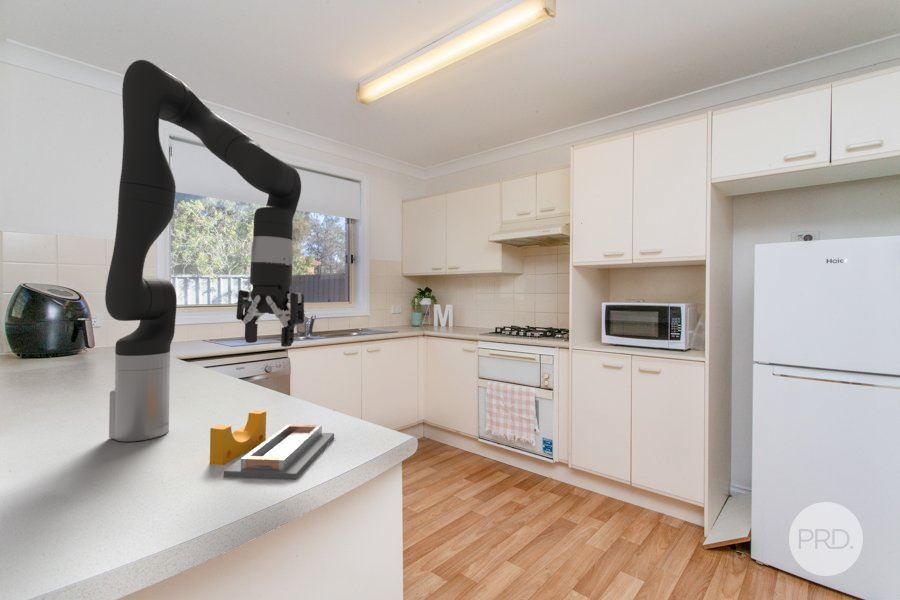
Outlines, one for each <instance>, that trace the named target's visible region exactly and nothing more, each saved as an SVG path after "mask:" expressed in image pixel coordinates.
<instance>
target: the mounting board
mask: <svg viewBox="0 0 900 600" xmlns="http://www.w3.org/2000/svg"><path fill="white" fill-rule="evenodd" d="M273 435H274V434H273ZM273 435H271V436H273ZM288 436H289V435H288ZM288 436H287V437H288ZM269 438H270V437H269ZM269 438H267V439H269ZM334 439H335V432H322V434H321V435H320V436H319V437H318V438H317V439H316V440H315V441H314V442H313V443H312V444H311V445H310V446H309V447H308V448H307V449H306V450H305V451H304V452H303V453H302V454H301V455H300V456H298V457H297V458H296V459H295V460H294V461H293V462H292V463H291V464H290V465H289V466H288V467H287V468H286V469H285V470H284V471H270V470H242V469H241V458H239V459H238V460H237V461H235V462H234V463H232V464H231V465H230V466H228V467H227V468H226V469H223V478H239V479H240V478H241V479H243V478H244V479H265V480H266V479H267V480H269V479H270V480H293V481H294V480H295V481H296V480H297V479H298V478H299V477H300V476H301V474H303V472H305V471H306V469H308V467H309V466H310V465H311V464H312V463H313V461H314V460H315V459H316V458H317V457H318V456H320V454H321V453H322V452H323V451H324V449H326V447H327V446H328V445H329V444H330V443H331V442H332V441H333V440H334ZM283 440H284V439H283ZM283 440H282V441H283ZM261 444H262V443H261ZM278 444H279V443H278ZM278 444H277V445H278ZM257 447H258V446H257ZM273 448H274V447H273ZM273 448H272V449H273ZM251 451H252V450H250V451H249V452H251ZM268 452H269V451H268ZM268 452H267V453H268ZM247 454H248V453H245V455H247ZM264 455H265V454H264ZM264 455H263V456H264Z"/></svg>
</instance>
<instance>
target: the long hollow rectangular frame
mask: <svg viewBox="0 0 900 600" xmlns="http://www.w3.org/2000/svg"><path fill="white" fill-rule="evenodd" d="M322 428H323V425H321V424H319V425H318V424H316V425H315V424H292V423H291V424H286V425H285V426H284V427H283V428H281V429H279V430H278V431H276V432H275V433H273V436H272V435H271V436H270V437H269V439H268V438H266V441H264V442H263V443H262V444H260V445H259V446H258V447H255V448H253V449H252V450H250V451H251V452H250V451H248V453H246V454H247V455H246V454H245V455H244V456H242V457H240V459H241V469H242V470H270V471H284V470H285V469H286V468H287V467H288V466H289V465H290V464H291V463H292V462H293V461H294V460H295V459H296V458H297V457H298V456H300V455H301V454H302V453H303V452H304V451H305V450H306V449H307V448H308V447H309V446H310V445H311V444H312V443H313V442H314V441H315V440H316V439H317V438H318V437H319V436H320V435H321V434H322V433H323V429H322ZM288 435H289V436H288ZM287 436H288V437H287ZM283 439H284V440H283ZM282 440H283V441H282ZM278 443H279V444H278ZM277 444H278V445H277ZM273 447H274V448H273ZM272 448H273V449H272ZM268 451H269V452H268ZM267 452H268V453H267ZM264 454H265V455H264ZM263 455H264V456H263Z"/></svg>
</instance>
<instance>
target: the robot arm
mask: <svg viewBox="0 0 900 600" xmlns="http://www.w3.org/2000/svg"><path fill="white" fill-rule="evenodd" d="M122 80H123V81H122V121H123V122H122V123H123V124H122V125H123V129H122V130H123V137H122V138H123V140H122V142H123V144H122V157H121V159H122V160H121V169H120V170H121V172H120V179H119V186H118V187H119V188H118V199H117V200H118V201H117V203H118V204H117V205H118V206H117V220H116V230H115V237H114V238H115V239H114V245H113V252H112V257H111V261H110V266H109V271H108V275H107V280H106V286H105V295H104V297H105V298H104V301H105V308H106V310H107V313H108V314H109V315H110V317H111V318H112V319H114V320H116V321H122V322H130V321H135V322H136V321H139V324H138V327H137V328H136V329H135V330H134V331H133V332H131V333H129V334H127V335H125V336H123V337H121V338H119V339H118V340H117V341H116V343H115V348H114V350H115V355H114V356H115V359H114V389H113V390H111V391H110V392H109V407H108V409H109V412H108V414H109V415H108V416H109V418H108V420H109V421H108V423H109V424H108V438H109V439H113V440H115V441H118V442H140V441H145V440H151V439H155V438H159V437H162V436H163V435H166V434H167V433H168V432H169V431H170V382H171V381H170V379H171V378H170V377H171V376H170V374H171V345H172V342H173V340H174V337H175V332H176V331H175V329H176V318H177V317H176V316H177V307H178V305H177V303H178V302H177V293H176V292H177V291H176V288H175V285H174V284H173V283H172V282H171V280H169V279H167V278H165V277H162V276H161V277H160V276H151V275H150V276H149V275H148V276H147V275H144V268H145V263H146V257H147V255H148V253H149V251H150V249H151V247H152V245H154V243H155V241H157V239H158V238H159V236H161V234H162V233H163V232H164V230H166V228H167V227H168V225H169V224H170V223H171V221H172V218H173V216H174V211H175V203H176V202H175V201H176V200H175V199H176V192H177V191H176V188H177V187H176V185H177V184H176V180H175V177H174V174H173V171H172V167H171V166H170V163H169V162H168V159H167V156H166V154H165V152H164V150H163V149H164V148H163V147H162V143H161V139H160V138H161V137H160V120H162V121H165V122H169V123H171V124H174V125H175V126H178V127H180V128H181V129H183V130H186V131H188V132H190V133H192V134H193V135H194V136H195V137H197V138H198V139H200V141H201V142H202V144H203V146H205V147H206V148H207V149H208V151H209V152H210V153H212V154H213V155H214V156H215V157H217V158H218V159H219V160H221V162H223V163H225V164H226V165H227V166H229V167H230V168H231V169H234V170H235V171H236V172H237V174H239V176H240V177H241V178H242V179H243V180H244V181H246V182H247V184H249V185H250V186H252V187H253V188H254V189H257V190H258V191H260V192H261V193H264V194H267V195H268V198H267V201H266V205H265V206H259V207H258V208H257V209H255V210H254V211H255V212H254V214H253V215H254V217H253V237H252V244H251V250H250V270H249V271H250V273H249V283H250V285H252V289H251V290H250V289H240V290H239V291H238V295H237V305H236V307H237V308H236V320H238V321H239V320H240V321H242V322H243V324H245V325H244V339H245V342H246V343H248V344H252V343H256V342H258V341H257V340H258V321H259V320H260V318H261V317H263V316H264V315H265V314H269V315H275V317H276V318H278V319H279V321H280V323H281V325H282V327H281V333H280V334H281V335H280V338H281V339H280V345H281V347H284V348H286V347H291V346H292V344H293V343H294V340H295V338H294V333H295V327H297V326H298V325H301V324H304V323H305V300H304V299H305V295H304V293H303V292H290V291H291V290H290V287H291V286H292V283H293V282H292V281H293V263H294V262H293V259H294V249H293V229H294V228H293V227H294V225H293V224H294V223H293V221H294V218H295V214H296V211H297V209H298V205H299V201H300V198H301V193H302V181H301V176H300V174H299V172H298V170H297V169H296V168H295V167H293V166H292V165H290V164H289V163H287V162H285V161H283V160H281V158H278V157H276V156H275V155H273V154H271V153H270V152H268V151H266V150H265V149H263V148H262V147H261V145H260V144H259V143H258V142H256V141H255V139H253V138H252V137H250V136H249V135H247V134H246V133H245V132H244V131H242V130H240V129H239V128H238V127H236V126H234V125H233V124H232V123H230V122H229V121H227V120H225V119H224V118H222V117H221V116H219V115H218V114H217V113H215V112H214V111H213V110H211V109H210V108H209V107H208V106H207V105H206V104H205V103H204V102H203V101H202V100H201V99H200V97H198V96H197V94H195V92H194V91H193V90H192V89H190V87H189V86H188V85H187V84H186V83H184V82H183V80H181V79H179V78H178V77H176V76H174V74H171V73H170V72H168V71H166V70H165V69H164V68H161V67H160V66H158V65H157V64H155V63H153V62H151V61H149V60H145V59H138V60H135V61H134V62H132V63H130V65H129V66H128V67H127V69H126V71H125V72H124V76H123V79H122ZM288 303H289V304H288Z"/></svg>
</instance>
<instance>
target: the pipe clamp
mask: <svg viewBox="0 0 900 600" xmlns="http://www.w3.org/2000/svg"><path fill="white" fill-rule="evenodd" d="M209 431H210V432H209V433H210V435H209V437H210V438H209V440H210V441H209V464H210V465H217V466H224V465H225V464H228V463H229V462H231V461H234V460H235V459H237V458H239V457H240V456H242V455H244V454H247V452H248V453H249V452H250V451H252V450H253V449H255V448H256V447H257V446H259V445H260V444H261V443H263V442H264V441H266V440H267V438H266V437H267V435H266V434H267V411H266V410H252V411H249V412H248V415H247V421H246V425H244V426H243V427H239V428H237V429H236V430H234V431H233V432H232V425H222V424H217V425H215V426H212V427H211V428H210V429H209Z"/></svg>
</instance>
